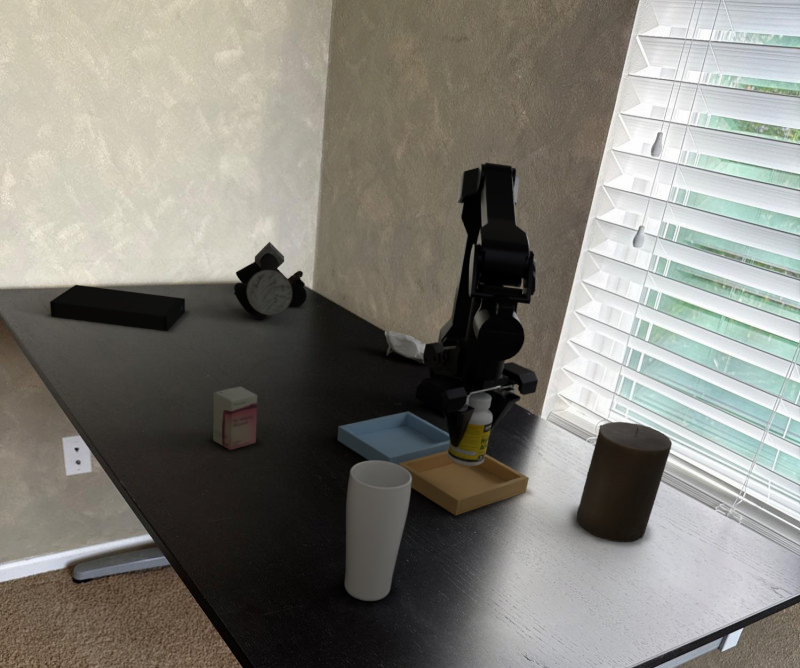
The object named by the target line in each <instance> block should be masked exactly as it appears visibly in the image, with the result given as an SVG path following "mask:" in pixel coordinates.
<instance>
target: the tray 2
mask: <svg viewBox="0 0 800 668" xmlns="http://www.w3.org/2000/svg"><path fill="white" fill-rule="evenodd" d="M398 465H400V466H402V467H404V468H405V469H406V470H408V471H409V472H410V474H411V476H412V483H411V489H413V490H415V491H416V492H417V493H419V494H420V495H423V496H424V497H425V498H427V499H429V500H430V501H432V502H434V503H435V504H436V505H438V506H440V507H441V508H443V509H444V510H445V511H448V512H449V513H451V514H452V515H454V516H458V515H462V514H465V513H467V512H470V511H473V510H477V509H479V508H482V507H485V506H489V505H491V504H495V503H497V502H501V501H503V500H507V499H509V498H513V497H515V496H518V495H521V494H524V493H527V488H528V483H529V480H530V477H528V476H526V475H525V474H523V473H521V472H520V471H517V469H516V470H515V468H512V467H510V466H508V465H506V464H505V463H503V462H501V461H500V460H498V459H496V458H494V457H492V456H490V455H488V454H487V453H486V454H485V459H484V461H483V463H481V464H480V465H476V466H467V465H461V464H458V463H455V462H453V461H452V460H451V459H450V458H449V457H448V450H447V451H443V452H440V453H436V454H432V455H428V456H425V457H421V458H417V459H413V460H409V461H406V462H403V463H399V464H398Z"/></svg>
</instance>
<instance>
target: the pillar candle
mask: <svg viewBox="0 0 800 668" xmlns="http://www.w3.org/2000/svg"><path fill="white" fill-rule="evenodd" d="M598 428H599V429H598V434H597V437H596V441H595V445H594V449H593V452H592V455H591V459H590V463H589V466H588V469H587V474H586V478H585V482H584V486H583V490H582V493H581V497H580V502H579V505H578V507H577V512H576V519H577V523H578V524H579V525H580V527H582V528H584V529H585V530H586V531H588V532H590V533H591V534H593V535H594V536H596V537H599V538H602V539H605V540H608V541H613V542H614V541H615V542H634V541H638V540H639V539H641V538H643V537H644V535H645V534H646V530H647V528H648V524H649V522H650V521H649V520H650V518H651V514H652V511H653V508H654V505H655V502H656V498H657V495H658V492H659V487H660V486H661V481H662V478H663V474H664V471H665V468H666V465H667V462H668V459H669V455H670V452H671V450H672V445H673V443H672V440H671V439H670V437H669V436H667V435H666V434H665V433H663V432H661V431H660V430H657V429H655V428H653V427H651V426H646V425H643V424H640V423H631V422H627V421H614V422H613V421H610V422H607V423H604V424H600V425H599V426H598Z"/></svg>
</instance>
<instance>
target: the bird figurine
mask: <svg viewBox="0 0 800 668" xmlns="http://www.w3.org/2000/svg"><path fill="white" fill-rule="evenodd" d="M384 336H385V339H386V343H387V345H388V347H387V350H386V355H385V357H386V356H389V355H390V353H393V352H395V353H397V354H399V355H400V356H403V357H404V358H406V359H410V360H413V361H415V362H418V364H421V363H422V364H423V365H425V364H424V359H423V354H424V349H425V345H426V344H427V343H425V342H423V341H420V340H418V339H417V338H416V337H414V336H411V335H410V334H407V333H401V332H397V331H393V330H391V329H390V330H389V331H386V330H385V332H384Z"/></svg>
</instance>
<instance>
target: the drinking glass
mask: <svg viewBox="0 0 800 668" xmlns="http://www.w3.org/2000/svg"><path fill="white" fill-rule="evenodd" d="M411 483H412V476H411V474H410V472H409V471H408V470H406V469H405V468H404V467H402V466H400V465H397V464H394V463H391V462H386V461H378V460H371V461H369V460H364V461H361V462H358V463H355V464H354V465H353V466H352V467H351V468H350V471H349V476H348V482H347V489H346V500H345V503H346V504H345V572H344V583H343V584H344V589H345V591H346V592H347V593H348V595H350V596H351V597H353V598H354V599H357V600H360V601H363V602H375V601H376V602H377V601H380V600H382V599H385V598H386V597H387V596H388V595H389V594H390V591H391V589H392V582H393V577H394V572H395V568H396V563H397V559H398V555H399V550H400V546H401V542H402V538H403V534H404V530H405V526H406V522H407V518H408V513H409V507H410V502H411V495H412V494H411V493H412V487H411Z"/></svg>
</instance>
